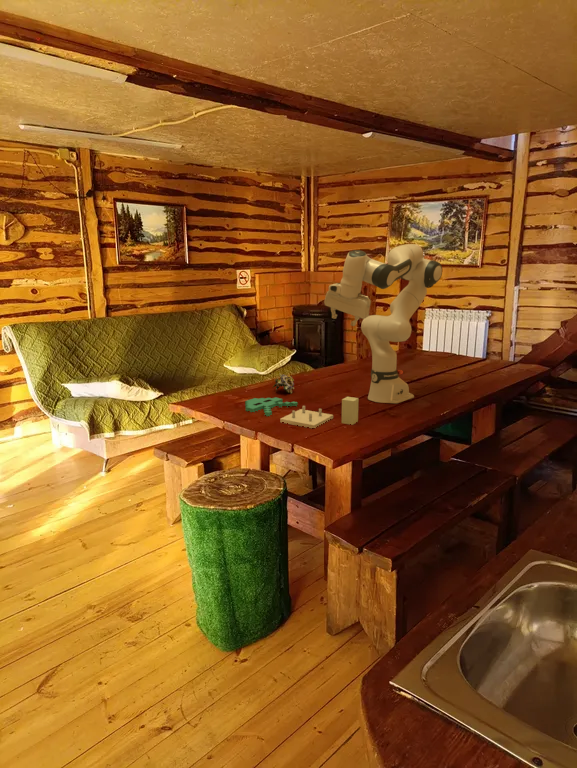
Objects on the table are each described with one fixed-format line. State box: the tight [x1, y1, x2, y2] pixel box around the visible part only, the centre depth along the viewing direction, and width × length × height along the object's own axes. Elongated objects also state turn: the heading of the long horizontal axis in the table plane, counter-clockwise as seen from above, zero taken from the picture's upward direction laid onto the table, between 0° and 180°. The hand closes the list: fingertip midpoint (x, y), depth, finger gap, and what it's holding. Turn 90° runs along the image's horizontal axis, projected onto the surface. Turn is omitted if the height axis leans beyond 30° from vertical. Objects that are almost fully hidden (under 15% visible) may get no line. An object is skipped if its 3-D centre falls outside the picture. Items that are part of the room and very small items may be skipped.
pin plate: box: [279, 405, 334, 429], centre depth 229 cm, size 16×16×4 cm
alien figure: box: [244, 396, 299, 417], centre depth 248 cm, size 20×2×20 cm
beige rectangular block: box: [341, 396, 360, 426], centre depth 225 cm, size 5×5×10 cm
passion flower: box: [272, 372, 295, 394], centre depth 272 cm, size 11×11×12 cm
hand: (343, 321), depth 234 cm, fingers open, 8 cm apart
